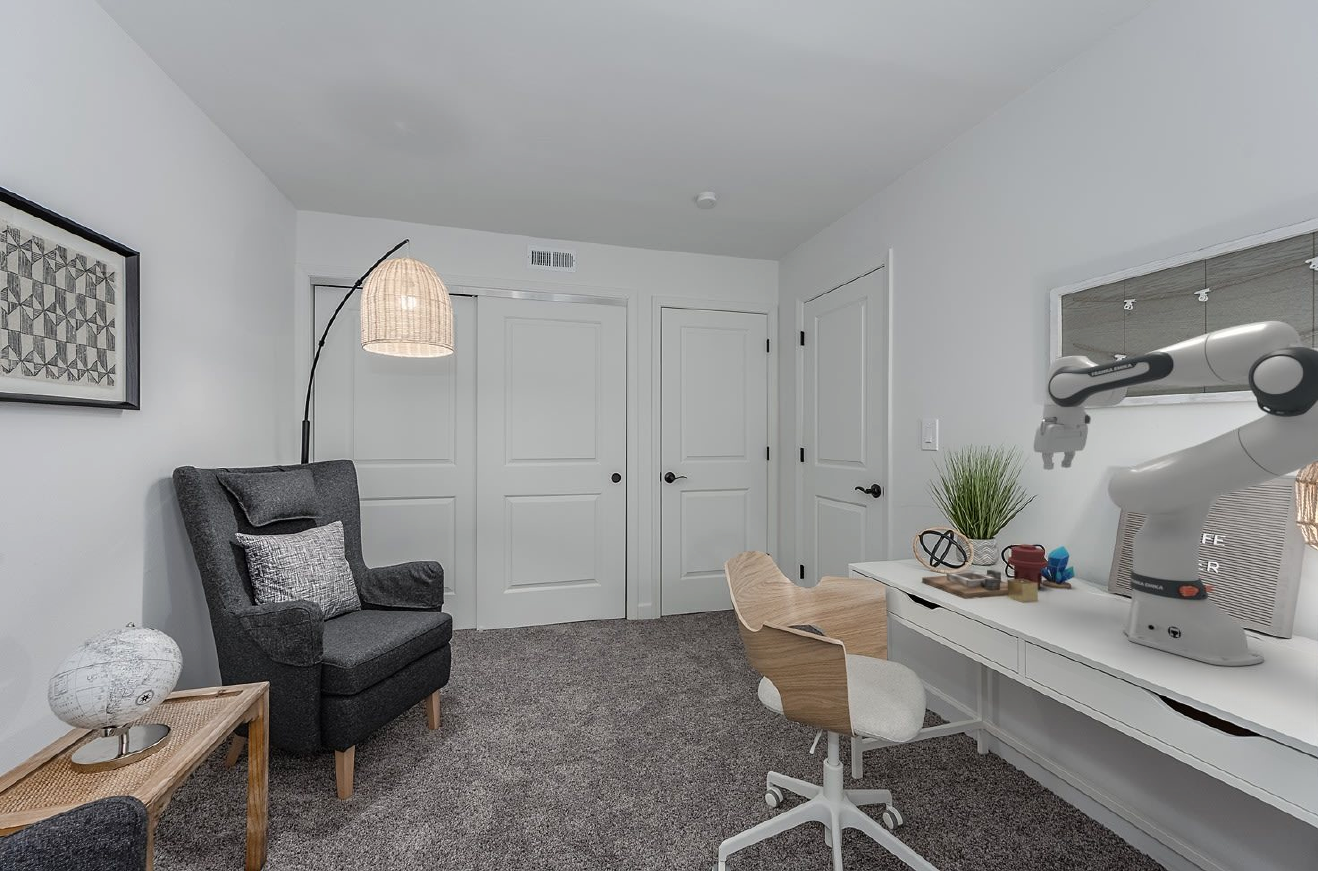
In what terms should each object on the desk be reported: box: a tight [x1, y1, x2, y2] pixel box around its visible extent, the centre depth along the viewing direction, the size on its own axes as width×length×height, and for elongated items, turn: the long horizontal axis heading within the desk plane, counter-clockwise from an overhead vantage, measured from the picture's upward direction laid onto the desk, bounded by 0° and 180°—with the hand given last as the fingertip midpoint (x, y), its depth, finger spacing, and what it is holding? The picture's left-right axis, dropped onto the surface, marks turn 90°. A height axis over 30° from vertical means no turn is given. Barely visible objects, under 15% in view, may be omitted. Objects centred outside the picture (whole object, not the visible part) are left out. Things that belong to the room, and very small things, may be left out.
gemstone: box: [1041, 545, 1075, 589], centre depth 172 cm, size 7×9×12 cm
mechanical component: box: [1007, 543, 1048, 588], centre depth 171 cm, size 12×10×10 cm
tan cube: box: [1006, 578, 1039, 603], centre depth 159 cm, size 5×5×5 cm
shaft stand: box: [921, 569, 1008, 599], centre depth 171 cm, size 18×20×4 cm
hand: (1057, 468), depth 154 cm, fingers open, 8 cm apart
